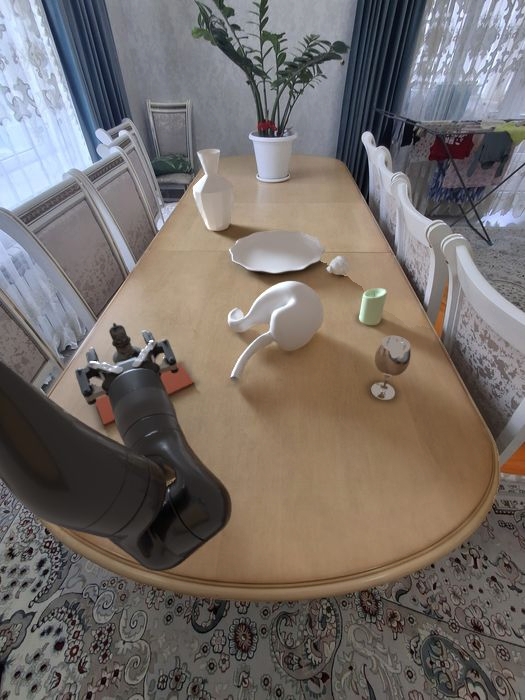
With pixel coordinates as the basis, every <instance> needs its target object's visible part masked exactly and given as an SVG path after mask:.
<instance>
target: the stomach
mask: <svg viewBox="0 0 525 700" xmlns="http://www.w3.org/2000/svg"><path fill="white" fill-rule="evenodd" d="M324 319H325V310H324V304H323V302H322V300H321V298H320V296H319V295H318V293H316V291H315V290H314V289H312V288H311V287H310V286H309V285H307V284H306V283H303V282H300V281H294V280H287V281H282V282H278V283H276V284H274V285H273V286H271V287H269V288H268V289H266V290H265V291H263V293H261V294H260V295H259V296H258V297H257V298H256V300H254V302H253V304H252V306H251V308H250V310H249V311H248V313H247V314H246V315H244V313H243V311H242V310H241V309H240V308H238V307H235V308H234V309H232V310H231V311H230V312H229V313H228V316H227V323H228V326H229V327H230V329H231V330H232V331H233V332H235V333H244V332H247V331H248V330H249V329H251V328H252V327H254V326H255V325H269V330H268V331H267V332H265V333H263V334H261V335H259V336H258V337H257V338H255V340H253V341H252V342H251V343H250V345H248V346H247V348H246V349H245V350H244V352H242V354H241V355H240V357H239V358H238V360H237V362H236V364H235V366H234V367H233V370H232V372H231V374H230V377H229V380H230V381H232V382H234V383H237V382H239V380H240V378H241V376H242V374H243V371H244V369H245V367H246V365H247V363H248V362H249V360H250V359H251V358H252V356H254V354H256V353H257V352H258V351H260V350H261V349H263V348H265V347H267V346H270V345H271V344H273V342H275V343H276V345H277V346H278V347H280V348H281V349H283V350H285V351H287V352H292V351H293V352H294V351H296V350H299V349H301V348H302V347H304V346H305V345H307V344H308V343H309V342H310V340H311V339H312V338H313V337H314V335H316V333H317V332H318V331H319V330H320V328H321V327H322V325H323V323H324Z"/></svg>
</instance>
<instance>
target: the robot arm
mask: <svg viewBox="0 0 525 700" xmlns="http://www.w3.org/2000/svg"><path fill="white" fill-rule="evenodd" d="M141 334H142V337H143V340H144V342H145V345H146V346H145V348H142V349H141V353H140V355H139V356H138V358H136V357H134V358H131V359H129V360H127V361H124V362H120V363H117V364H115V363H114V365H113V364H109V363H107V362H102V363H100V358H99V356H98V353H97V351H96V349H95V347H90V348H88V351H87V352H86V353H85V357H86V361H87V364H86V366H85V367H78V368H76V369H75V371H74V374H75V376H76V379H77V383H78V386H79V389H80V393H81V394H82V396H83V398H84V399H85V400H84V401H86V403H87V404H88V405H89V406H92V405H95V404H96V403H95V402H96V400H97V399H99V398H101V397H103V396H106V395H107V396H109V400H110V404H111V407H112V411H113V415H114V418H115V421H114V423H115V425H116V429H117V432H118V434H119V437H120V438H121V440H122V443H123V444H122V443H120V442H118V441H116V440H115V439H113V438H111V437H109V436H106V435H105V434H103V433H101V432H100V431H98V430H96V429H95V428H93V427H91V426H89V425H88V424H87V423H85V422H83V421H82V420H80V419H79V418H77V417H75V416H74V415H72V414H71V413H70V412H68V411H67V410H66V409H64V408H63V407H62V406H60V405H59V404H58V403H56V402H55V401H54V400H52V399H51V398H50V397H49V396H48V395H46V394H45V393H44V392H43V391H41V390H40V389H39V388H38V387H36V386H35V385H34V384H33V383H32V382H30V381H29V380H28V379H27V378H26V377H24V376H23V375H22V374H21V373H20V372H18V371H17V370H15V369H14V368H13V367H12V366H11V365H9V364H8V362H6V361H4V359H2V358H1V357H0V481H1V482H2V483H3V485H4V486H5V487H6V488H7V490H8V491H9V493H10V494H11V495H12V496H13V497H14V498H15V499H16V500H17V501H18V502H19V503H20V504H21V505H22V506H23V507H24V508H25V509H26V510H27V511H29V512H30V513H31V514H33V515H34V516H36V517H37V518H39V519H41V520H43V521H45V522H46V523H50V524H53V525H55V526H58V527H61V528H65V529H68V530H72V531H76V532H80V533H84V534H86V535H91V536H95V537H100V538H104V539H107V540H109V541H110V542H111V543H113V544H114V545H115V546H116V547H117V548H119V549H121V550H122V551H123V552H125V553H126V554H127V555H128V556H130V557H131V558H132V559H134V560H135V561H136V562H137V563H138V564H140V565H141V566H142V567H144V568H145V569H147V570H149V571H151V572H164V571H169V570H172V569H175V568H177V567H178V566H180V565H181V564H183V563H184V562H186V560H188V559H189V558H190V557H191V556H193V555H194V554H196V552H197V551H198V550H200V549H201V548H202V547H203V546H204V545H206V544H207V543H208V542H209V541H211V540H212V539H214V538H215V537H216V536H217V535H218V534H220V533H221V531H223V530H224V529H225V528H226V527H227V526H228V524H229V522H230V520H231V517H232V511H233V507H232V506H233V504H232V498H231V495H230V492H229V490H228V488H227V487H226V486H225V484H224V483H223V482H222V481H221V479H220V478H218V477H217V476H216V474H215V473H214V472H212V471H211V469H209V468H208V466H206V464H205V463H204V462H203V461H202V460H201V459H200V458H199V456H198V455H197V454H196V453H195V451H194V449H192V447H191V446H190V444H189V443H188V441H187V438H186V436H185V434H184V431H183V429H182V427H181V425H180V422H179V420H178V415H177V412H176V409H175V407H174V404H173V402H172V400H171V397H170V395H168V393H167V391H166V389H165V386H164V384H163V382H162V380H161V373H164V372H167V371H170V370H171V372H172V373H177V372H178V371H179V369H178V365H177V364H178V362H177V358H176V356H175V353H174V351H173V348H172V346H171V344H170V341H169V340H168V339H167V338H164V339H161V341H156V339H155V337H154V335H153V333H152V332H150V331H148V332H147V330H142V331H141ZM161 354H164V356H163V359H162V360H161V363H160V364H158V363H157V360H158V358H159V356H160V355H161ZM92 378H95V379H97V380H100V381H102V383H101V386H98V385H96V384H93V382H91V379H92ZM172 480H173V481H172ZM169 481H171V482H170V483H169V484H168V482H169Z"/></svg>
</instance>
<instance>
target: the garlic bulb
mask: <svg viewBox="0 0 525 700" xmlns="http://www.w3.org/2000/svg"><path fill="white" fill-rule="evenodd" d="M350 269H351V261H350V259H349V258H348V257H347V256H346V255H338V256H336V257H335V258H333V259H332V261H331V262H330V263H329V265H328V266H327V267H326V271H327V272H328V273H330V274H334V275H335V276H343V275H344V276H345V275H347V274H348V273H349V271H350Z"/></svg>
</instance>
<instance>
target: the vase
mask: <svg viewBox="0 0 525 700" xmlns="http://www.w3.org/2000/svg"><path fill="white" fill-rule="evenodd" d="M196 154H197V156H198V159H199V161H200V164H201V167H202V169H203V172H204V175H203V176H202V178H201V179H199V180H198V182H197V183H196V184H195V185H193V187H192V190H193V191H192V192H193V197H194V200H195V204H196V207H197V209H198V211H199V214H200V215H201V218H202V220H203V222H204V223H205V226H206V228H207V229H208V230H210V231H211V232H212V231H213V232H220V231H224V230H226V229H228V228H229V226H230V224H231V221H232V215H233V210H234V209H233V208H234V203H235V188H234V187H235V186H234V184H233V182H231V181H230V180H229V179H226V178H225V177H224V176H222V175H220V174H219V173H218V171H219V163H220V156H221V150H220V149H219V148H204V149H200V150H198V151H196Z"/></svg>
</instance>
